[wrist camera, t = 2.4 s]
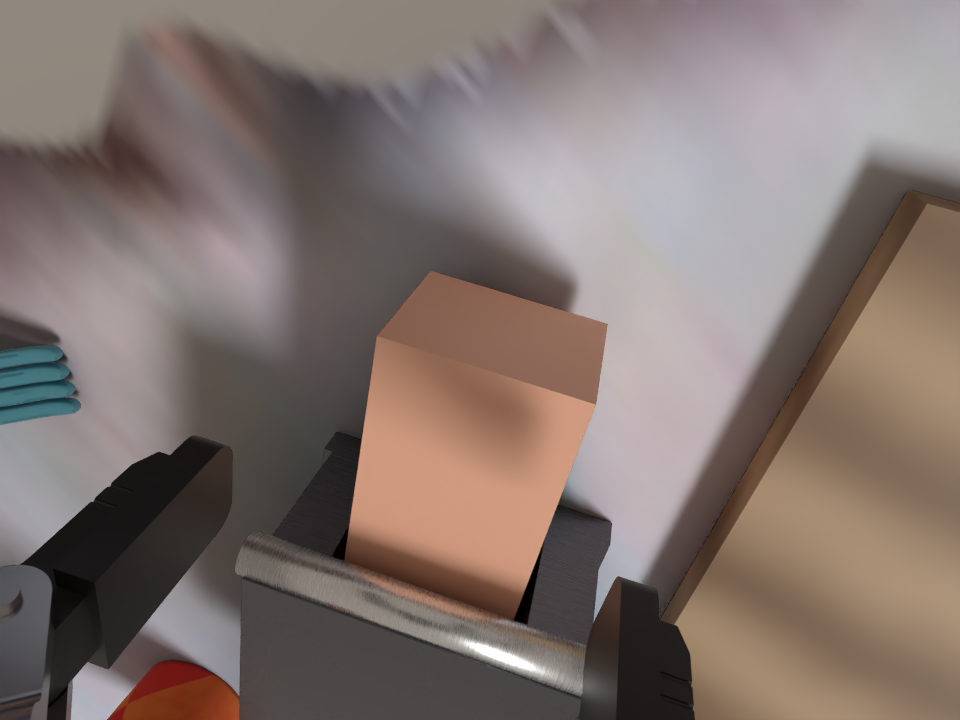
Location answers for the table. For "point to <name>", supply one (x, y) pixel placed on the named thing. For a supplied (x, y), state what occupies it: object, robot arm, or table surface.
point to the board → (848, 513)
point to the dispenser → (405, 624)
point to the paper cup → (179, 695)
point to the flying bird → (34, 384)
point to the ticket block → (470, 439)
